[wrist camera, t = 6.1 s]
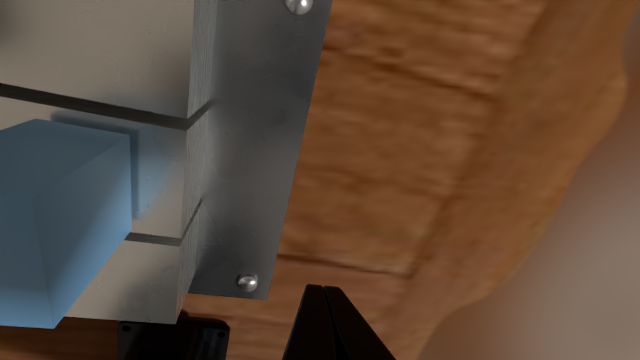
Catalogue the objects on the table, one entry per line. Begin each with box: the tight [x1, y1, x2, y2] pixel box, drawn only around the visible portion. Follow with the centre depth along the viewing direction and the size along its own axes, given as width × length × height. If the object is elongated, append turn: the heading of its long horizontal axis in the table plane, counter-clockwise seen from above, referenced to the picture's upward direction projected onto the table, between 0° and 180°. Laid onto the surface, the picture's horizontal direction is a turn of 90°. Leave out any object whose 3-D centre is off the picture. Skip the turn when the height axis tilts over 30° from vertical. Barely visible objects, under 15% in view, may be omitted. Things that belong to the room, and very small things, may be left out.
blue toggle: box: [0, 118, 132, 329], centre depth 8 cm, size 4×2×4 cm
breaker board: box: [0, 0, 332, 324], centre depth 10 cm, size 16×19×8 cm
